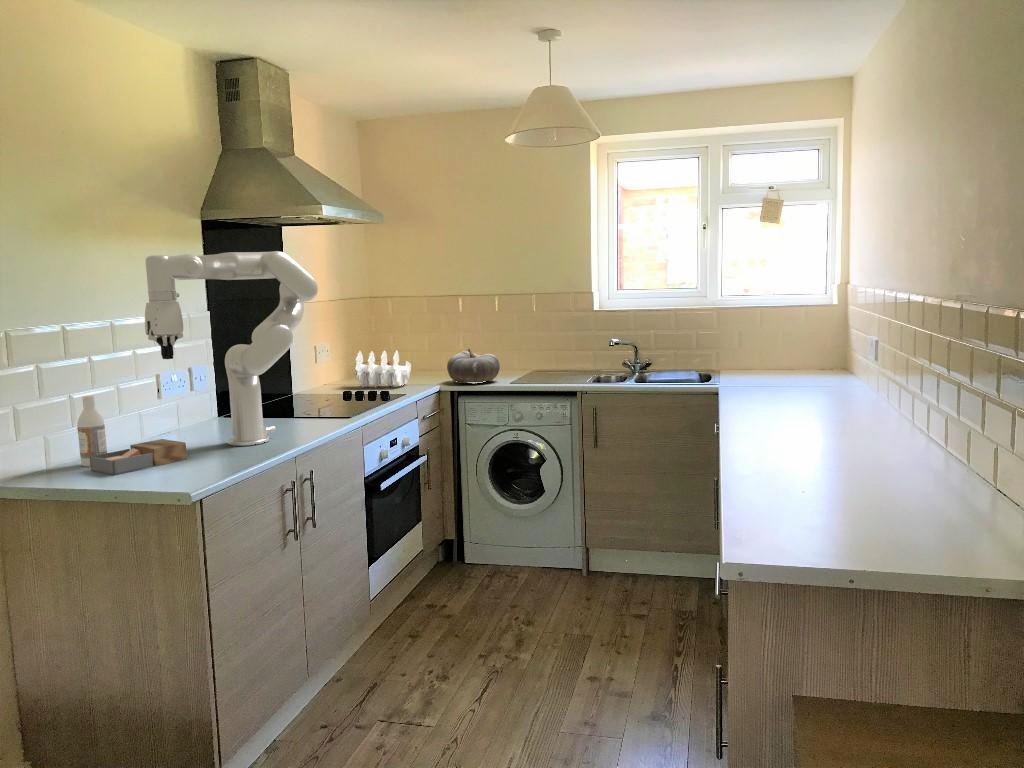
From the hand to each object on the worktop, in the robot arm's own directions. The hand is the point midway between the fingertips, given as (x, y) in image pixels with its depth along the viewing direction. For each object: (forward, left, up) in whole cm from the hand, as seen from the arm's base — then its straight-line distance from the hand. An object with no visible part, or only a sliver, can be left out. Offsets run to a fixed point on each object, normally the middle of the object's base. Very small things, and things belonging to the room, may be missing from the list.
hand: (167, 358), depth 240 cm
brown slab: (+8, +4, -29) cm, 30 cm away
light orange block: (+21, +4, -26) cm, 33 cm away
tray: (+19, +4, -29) cm, 35 cm away
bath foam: (+20, -9, -29) cm, 37 cm away
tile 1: (+16, +4, -28) cm, 32 cm away
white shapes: (-140, -47, -29) cm, 151 cm away
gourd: (-170, -15, -29) cm, 173 cm away
